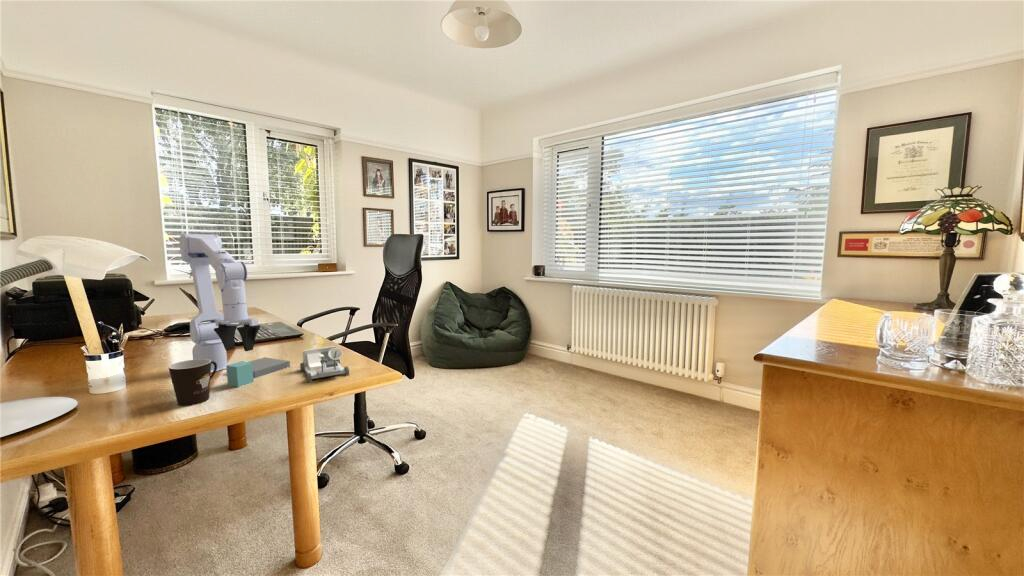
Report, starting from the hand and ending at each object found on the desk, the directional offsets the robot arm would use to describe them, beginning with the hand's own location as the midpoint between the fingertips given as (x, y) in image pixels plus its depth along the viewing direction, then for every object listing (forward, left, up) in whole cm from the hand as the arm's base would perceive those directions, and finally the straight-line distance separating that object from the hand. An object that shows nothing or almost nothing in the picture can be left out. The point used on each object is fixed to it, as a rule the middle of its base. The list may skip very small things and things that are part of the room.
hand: (239, 350), depth 115 cm
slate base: (-7, +11, -11) cm, 17 cm away
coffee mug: (+2, -12, -10) cm, 16 cm away
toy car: (+15, +16, -11) cm, 25 cm away
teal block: (0, 0, -10) cm, 10 cm away
